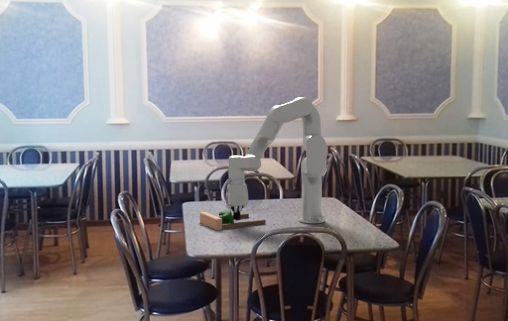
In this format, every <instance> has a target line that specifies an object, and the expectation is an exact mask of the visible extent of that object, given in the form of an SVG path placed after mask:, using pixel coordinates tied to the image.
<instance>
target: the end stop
mask: <svg viewBox="0 0 508 321" xmlns="http://www.w3.org/2000/svg"><path fill="white" fill-rule="evenodd" d="M199 223H200V224H202V225H204V226H206V227H208V228H210V229H212V230H216V231H219V230H220V231H221V230H223V229H222V218H219V216H216V215H214V214H211V213H209V212H207V211H200V212H199Z"/></svg>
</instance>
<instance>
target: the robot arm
mask: <svg viewBox="0 0 508 321" xmlns="http://www.w3.org/2000/svg"><path fill="white" fill-rule="evenodd" d="M299 119H301V122H302V147H303V150H305V157H304V158H303V160H302V161H301V165H300V168H301V169H300V170H301V172H300V173H301V216H300V217H298V220H297V221H298V222H300V223H302V224H303V223H304V224H321V223H324V222H326V221H325V216H323V212H322V209H323V208H322V207H323V206H322V203H323V202H322V201H323V200H322V199H323V195H322V193H323V189H322V188H323V181H322V180H323V178H322V177H323V176H324V175H325V174H326V172H327V171H326V170H327V150H328V149H327V143H326V142H327V141H326V139H325V138H324V137H323V136H322V126H321V125H322V124H321V115H320V113H319V111H318V109H317V107H316V106H315V105H314V104H313V102H312V100H311V99H310V98H308V97H303V96H298V97H296V98H294V99H293V100H292V101H289V102H286V103H284V104H281V105H280V104H279V105H278V104H275V105H274V106H272V107H271V108H270V110H269V112H268V113H267V115H266V117H265V119H264V121H263V123H262V125H261V126H260V129H259V130H258V132H257V134H256V136H255V138H254V139H253V141H252V142H251V144H250V145H249V148H248V150H247V152H246V153H245V156H243V155H239V154H237V155H236V154H235V155H230V156H228V161H227V162H228V179H226V181H225V182H226V184H227V186H226V191H225V192H226V193H225V205H226V206H225V208H226V209H227V210H230V209H231V212H232V215H233V218H234V221H241V219H240V214H241V212H242V210H243V209H244V208H247V206H248V204H249V192H248V185H247V183H246V182H245V181H246V180H245V171H246V172H257V171H258V170H260V169H261V167H262V161H261V159H262V158H263V155H264V154H265V152H266V150H267V149H268V147H270V145H272V144H273V143H274V142H275V141H276V138H277V137H278V135H279V132H280V130H281V128H282V127H283V125H284V124H287V123H290V122H292V121H295V120H299Z"/></svg>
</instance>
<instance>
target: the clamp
mask: <svg viewBox="0 0 508 321" xmlns="http://www.w3.org/2000/svg"><path fill="white" fill-rule="evenodd" d="M232 215H233V212H232V210H231V209H227V210H222V211H219V212H218V217H220V218H222V224H229V223H235V220H233V216H232Z"/></svg>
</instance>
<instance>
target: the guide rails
mask: <svg viewBox="0 0 508 321" xmlns="http://www.w3.org/2000/svg"><path fill="white" fill-rule="evenodd" d="M232 216H233V214H232ZM218 217H219V216H218ZM219 218H220V217H219ZM249 218H250V214H249V212H248V213H240V220H241V219H249ZM233 220H234V218H233ZM234 221H235V220H234ZM266 222H267V221H266V219H263V218H262V219H255V220H249V221H247V220H246V221H238V222H234V223H229V224H222V230H227V229H228V230H229V228H230V229H237V227H238V228H245V227H254V226H262V225H266Z"/></svg>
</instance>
